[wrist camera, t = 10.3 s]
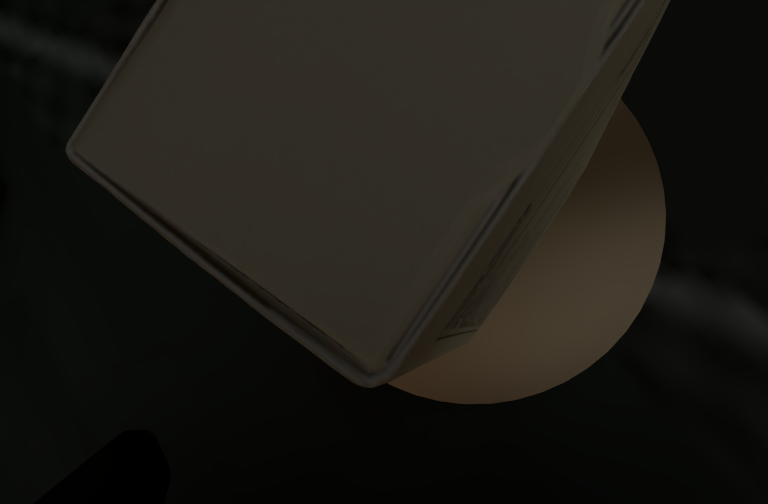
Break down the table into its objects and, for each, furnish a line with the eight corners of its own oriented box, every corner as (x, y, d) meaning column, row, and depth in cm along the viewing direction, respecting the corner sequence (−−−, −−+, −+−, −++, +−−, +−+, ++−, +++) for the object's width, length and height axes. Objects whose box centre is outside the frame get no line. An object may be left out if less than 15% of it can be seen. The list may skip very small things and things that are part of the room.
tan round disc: (685, 352, 19) (718, 355, 16) (354, 426, 21) (330, 440, 18) (588, 39, 21) (603, -9, 18) (289, 126, 23) (258, 94, 20)
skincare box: (459, 87, 19) (387, -368, 7) (592, 165, 18) (787, -202, 6) (332, 272, 18) (29, 147, 7) (459, 361, 18) (374, 405, 6)
